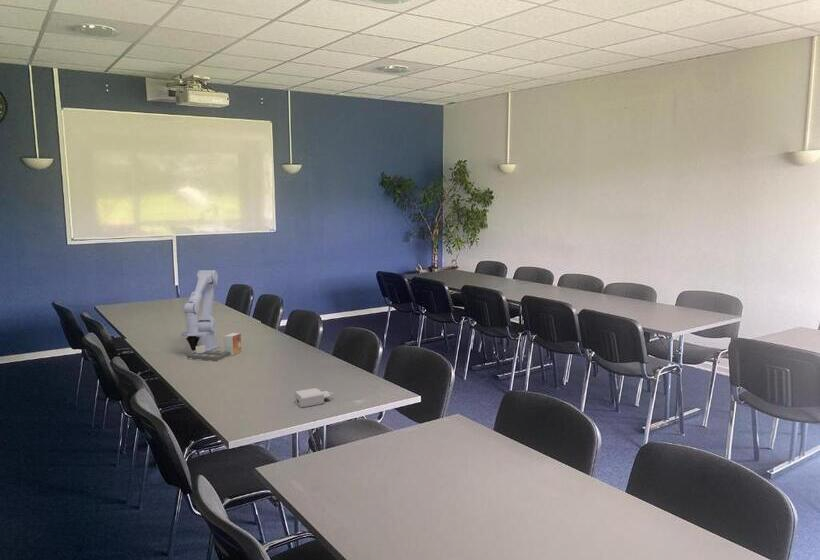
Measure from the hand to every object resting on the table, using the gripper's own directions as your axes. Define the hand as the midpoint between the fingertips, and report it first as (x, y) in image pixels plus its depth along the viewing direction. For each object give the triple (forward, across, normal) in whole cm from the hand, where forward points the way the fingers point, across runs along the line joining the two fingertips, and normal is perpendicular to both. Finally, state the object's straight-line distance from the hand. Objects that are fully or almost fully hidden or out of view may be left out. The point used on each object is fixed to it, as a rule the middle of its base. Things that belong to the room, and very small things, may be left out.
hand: (193, 350), depth 319 cm
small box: (+3, +17, +10) cm, 20 cm away
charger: (+4, +96, -49) cm, 107 cm away
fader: (+1, +4, 0) cm, 4 cm away
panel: (+3, +9, 0) cm, 10 cm away
